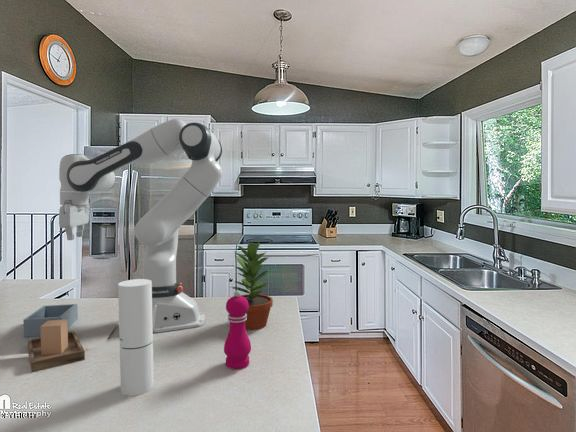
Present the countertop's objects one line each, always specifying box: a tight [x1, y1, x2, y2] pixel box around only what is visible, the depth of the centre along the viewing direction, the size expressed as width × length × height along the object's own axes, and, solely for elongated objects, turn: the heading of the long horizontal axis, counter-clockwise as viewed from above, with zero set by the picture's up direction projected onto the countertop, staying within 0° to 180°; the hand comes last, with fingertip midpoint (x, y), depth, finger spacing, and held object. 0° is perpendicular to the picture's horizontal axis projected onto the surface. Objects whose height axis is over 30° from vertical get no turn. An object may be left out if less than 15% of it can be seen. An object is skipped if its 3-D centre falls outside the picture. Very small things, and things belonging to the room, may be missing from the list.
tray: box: [27, 330, 86, 373], centre depth 104 cm, size 18×12×2 cm, turn 38°
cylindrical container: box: [117, 278, 155, 397], centre depth 86 cm, size 7×7×25 cm
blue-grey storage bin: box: [23, 303, 79, 338], centre depth 122 cm, size 11×15×6 cm
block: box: [40, 319, 69, 355], centre depth 104 cm, size 5×5×8 cm
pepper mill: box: [223, 290, 252, 370], centre depth 98 cm, size 7×7×20 cm
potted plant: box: [230, 241, 274, 331], centre depth 127 cm, size 15×15×30 cm
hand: (75, 238), depth 132 cm, fingers open, 8 cm apart
